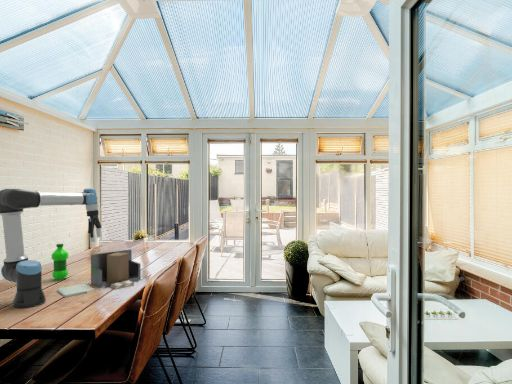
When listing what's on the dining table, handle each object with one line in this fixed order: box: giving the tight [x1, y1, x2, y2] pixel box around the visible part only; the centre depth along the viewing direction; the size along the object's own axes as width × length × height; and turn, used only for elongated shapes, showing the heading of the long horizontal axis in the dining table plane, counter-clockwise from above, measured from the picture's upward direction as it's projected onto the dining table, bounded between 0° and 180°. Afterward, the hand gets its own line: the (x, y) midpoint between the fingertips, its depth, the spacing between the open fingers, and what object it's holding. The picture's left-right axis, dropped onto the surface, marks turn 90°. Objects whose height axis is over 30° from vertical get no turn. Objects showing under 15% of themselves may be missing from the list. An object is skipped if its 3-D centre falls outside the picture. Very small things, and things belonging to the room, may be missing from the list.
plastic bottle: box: [51, 243, 69, 281], centre depth 241 cm, size 10×10×25 cm
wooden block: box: [106, 253, 130, 283], centre depth 229 cm, size 10×10×20 cm
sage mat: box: [56, 283, 96, 298], centre depth 212 cm, size 17×18×1 cm
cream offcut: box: [110, 280, 135, 290], centre depth 219 cm, size 12×7×2 cm, turn 136°
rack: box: [90, 248, 142, 288], centre depth 230 cm, size 28×19×20 cm
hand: (96, 239), depth 238 cm, fingers open, 13 cm apart
